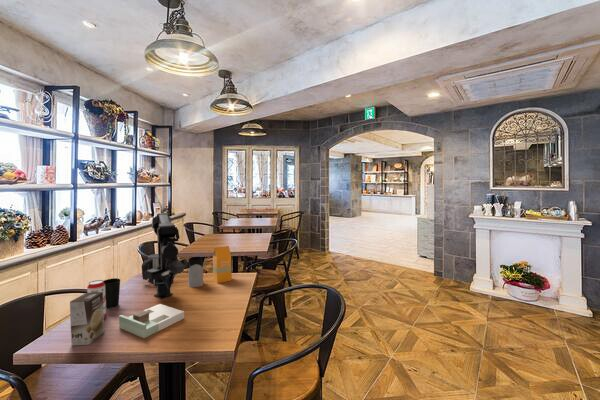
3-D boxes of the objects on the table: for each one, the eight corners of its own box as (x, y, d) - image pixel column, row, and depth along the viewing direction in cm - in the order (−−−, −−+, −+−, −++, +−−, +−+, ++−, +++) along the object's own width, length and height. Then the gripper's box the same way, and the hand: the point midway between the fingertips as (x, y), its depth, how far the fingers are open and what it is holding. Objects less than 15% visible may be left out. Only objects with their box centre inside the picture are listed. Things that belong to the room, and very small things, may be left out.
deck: (119, 327, 115) (118, 315, 115) (159, 310, 131) (159, 299, 130) (144, 338, 107) (143, 325, 107) (184, 318, 123) (183, 306, 123)
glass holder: (187, 288, 158) (187, 261, 157) (187, 279, 171) (187, 255, 170) (204, 286, 161) (203, 259, 160) (203, 278, 175) (202, 253, 174)
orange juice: (231, 280, 171) (231, 247, 169) (217, 283, 166) (216, 249, 164) (227, 276, 177) (226, 244, 176) (212, 279, 172) (212, 246, 171)
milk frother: (154, 277, 176) (153, 253, 175) (178, 277, 175) (178, 253, 174) (139, 285, 162) (138, 259, 161) (166, 286, 161) (165, 260, 160)
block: (133, 321, 114) (133, 314, 114) (142, 317, 117) (142, 310, 117) (139, 324, 112) (139, 316, 112) (149, 319, 115) (148, 312, 115)
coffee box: (89, 345, 103) (87, 301, 102) (70, 345, 102) (68, 302, 101) (105, 331, 112) (103, 291, 111) (87, 332, 111) (85, 292, 110)
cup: (111, 310, 131) (110, 284, 130) (97, 308, 132) (96, 283, 131) (125, 303, 138) (124, 278, 137) (111, 301, 140) (110, 277, 139)
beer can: (87, 323, 118) (85, 285, 117) (90, 317, 124) (88, 280, 123) (105, 320, 121) (103, 283, 120) (107, 314, 127) (105, 278, 126)
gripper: (159, 261, 113) (160, 300, 114) (197, 251, 129) (198, 285, 130) (142, 257, 118) (144, 294, 119) (181, 248, 135) (182, 280, 136)
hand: (168, 288), depth 126 cm, fingers closed
